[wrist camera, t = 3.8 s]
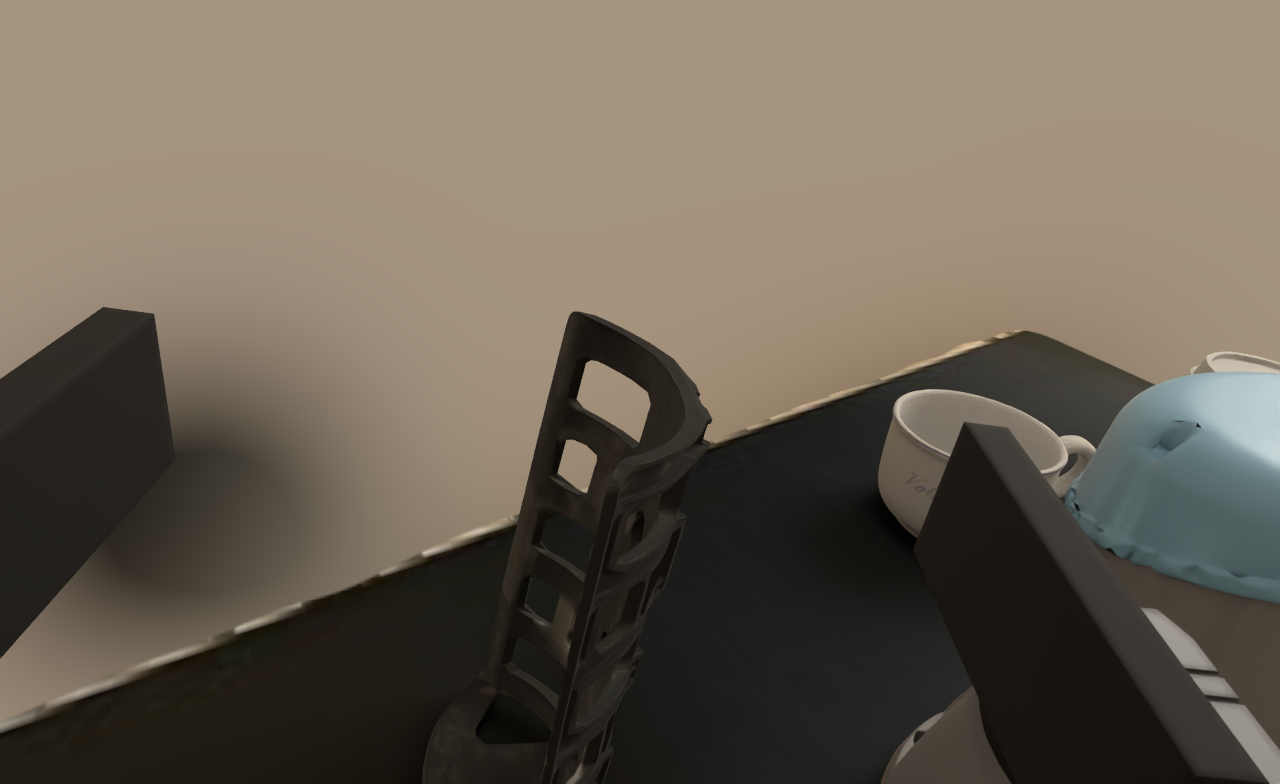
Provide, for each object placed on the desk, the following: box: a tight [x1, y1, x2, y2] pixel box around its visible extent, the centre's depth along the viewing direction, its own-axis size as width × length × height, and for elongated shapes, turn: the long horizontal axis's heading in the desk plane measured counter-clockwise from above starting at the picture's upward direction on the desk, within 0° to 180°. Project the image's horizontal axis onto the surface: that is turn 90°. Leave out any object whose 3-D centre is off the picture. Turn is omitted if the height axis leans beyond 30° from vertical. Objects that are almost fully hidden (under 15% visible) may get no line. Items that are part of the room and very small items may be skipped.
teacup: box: [878, 390, 1096, 538], centre depth 55 cm, size 14×11×8 cm
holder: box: [422, 312, 712, 784], centre depth 31 cm, size 11×8×20 cm
